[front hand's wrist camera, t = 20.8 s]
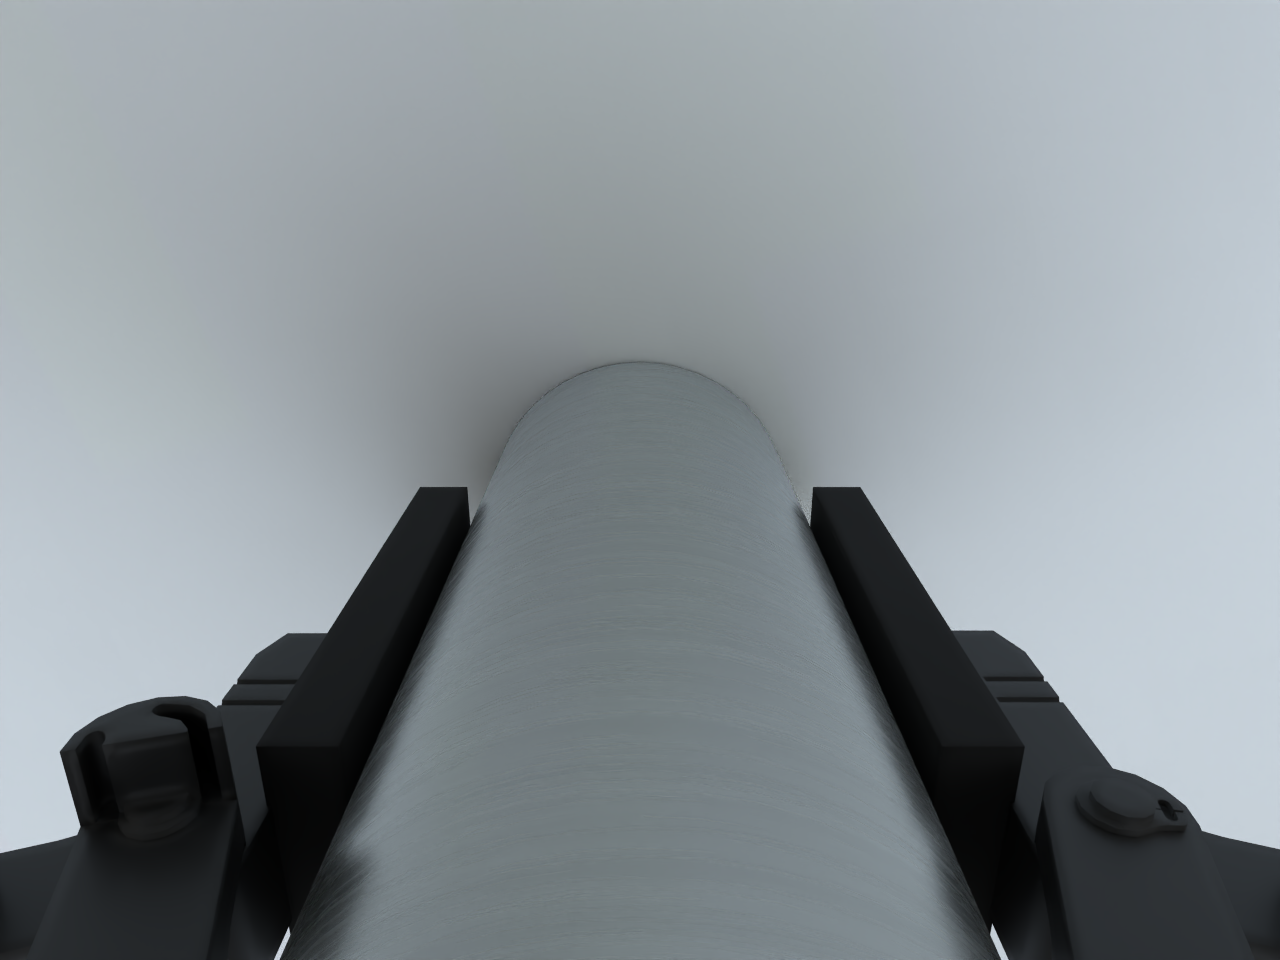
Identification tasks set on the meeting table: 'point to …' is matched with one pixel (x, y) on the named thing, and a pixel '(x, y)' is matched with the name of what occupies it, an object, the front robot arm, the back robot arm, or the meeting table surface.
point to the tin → (640, 722)
